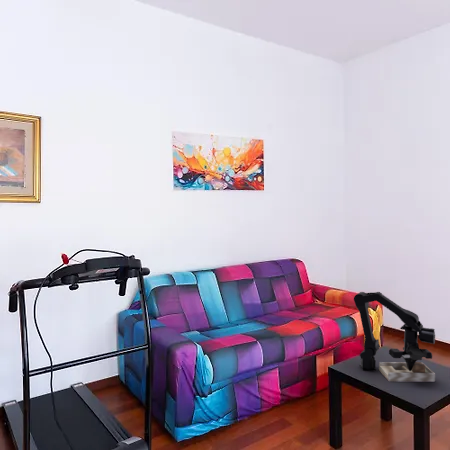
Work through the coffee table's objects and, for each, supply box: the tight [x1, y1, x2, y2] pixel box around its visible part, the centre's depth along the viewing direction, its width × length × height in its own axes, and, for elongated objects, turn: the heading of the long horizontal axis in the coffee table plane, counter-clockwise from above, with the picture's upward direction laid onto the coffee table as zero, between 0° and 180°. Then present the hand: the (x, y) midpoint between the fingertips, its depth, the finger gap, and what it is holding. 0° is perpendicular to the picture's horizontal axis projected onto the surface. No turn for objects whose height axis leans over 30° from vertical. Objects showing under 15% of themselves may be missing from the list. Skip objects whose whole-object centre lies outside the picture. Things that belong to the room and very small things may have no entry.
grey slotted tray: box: [378, 361, 436, 383], centre depth 198 cm, size 22×13×4 cm, turn 89°
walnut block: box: [412, 361, 426, 373], centre depth 195 cm, size 4×4×4 cm
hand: (409, 370), depth 195 cm, fingers closed
